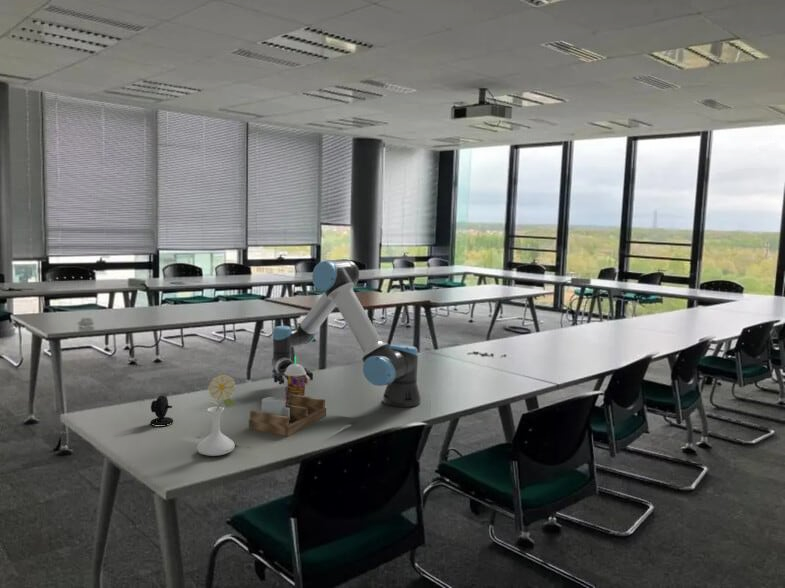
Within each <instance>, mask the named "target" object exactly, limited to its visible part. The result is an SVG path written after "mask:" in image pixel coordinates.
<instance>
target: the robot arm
mask: <svg viewBox="0 0 785 588" xmlns="http://www.w3.org/2000/svg"><path fill="white" fill-rule="evenodd" d="M311 276H312V277H311V279H312V283H313V286H314V287H315V288H316V289H317V291H321V292H323V293H322V294H321V295H320V297H319V299H318V300H317V301H316V302H315V303H314V305H313V307H311V309H310V311H309V312H308V313H307V314H306V315H305V316H304V318H303V319H302V321H301V322H300V323H299V324H298V325H297V326H296V327H295V328H292V327H291V326H288V325H277V326H275V327H273V333H272V334H273V335H272V338H273V339H272V342H273V343H272V345H273V347H272V348H273V349H272V351H273V352H272V357H271V365H272V367H273V369H272V371H271V372H272V373H271V374H272V377H273V382H274V383H278V384H279V385H283V386H284V388H285V387H288V380H287V379H286V377H285V374H284V372H285V371H286V369H287V367H288V366H289V365H291V364H294V361H293V360H292V348H294V347H297V346H301V345H306V344H307V345H308V344H309V343H312V342H313V341H314V340H315V338H316V332H317V330H318V329H319V328H320V327H321V326H322V325H323V323H324V322H325V320H326V319H327V318H328V316H330V315H331V314H332V312H333V311H334V309H335V308H336V307H337V309H338V310H339V313H340V314H341V316H342V318H343V320H344V322H345V323H346V325H347V326H348V329H349V330H350V332H351V334H352V335H353V337H354V339H355V341H356V343H357V344H358V347H359V348H360V351H361V352H362V355H361V360H362V362H363V364H362V367H363V369H362V373H363V376H364V378H365V379H366V380H367V381H368V382H369V383H370V384H372V385H373V386H377V387H383V386H386V387H385V390H384V393H383V395H382V401H383V403H384V404H385V405H388V406H392V407H398V408H411V407H416V406H419V405H420V404H421V402H422V401H421V398H422V397H421V393H420V389H419V387H418V364H419V363H418V362H419V361H418V360H419V352H418V348H417V347H416V346H413V345H406V344H389V343H387V342H384V341H383V340H382V338H381V336H380V335H379V334H378V331H377V330H376V327H375V326H374V325H373V322H372V321H371V319H370V318H369V315H368V314H367V312H366V310H365V309H364V307H363V306H362V304H361V302H360V300H359V297H358V296H357V294H356V293H355V290H354V288H355V287H356V285H357V283H358V282H359V279H360V269H359V267H358V266H357V264H356V263H355V262H354V261H352V260H350V259H347V258H342V259H327V260H323V261H319V262H318V263H317V264H316V265H315V266H314V268H313V271H312V275H311ZM303 368H304V369H305V372H306V382H305V385H306V386H308V387H309V386H311V381H313V380H314V373H313V372H311V371H310V370H308V369H307V368H306V367H303Z"/></svg>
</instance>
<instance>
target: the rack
mask: <svg viewBox="0 0 785 588" xmlns="http://www.w3.org/2000/svg"><path fill="white" fill-rule="evenodd" d="M285 407H287V408H290V421H289V417H286V416H280V415H275V414H269V413H264V412H262V411H258V410H252V409H251V410H250V412H249V413H250V415H249V419H248V429H249V430H253V431H254V430H255V431H261V432H265V433H270V434H274V435H275V434H276V435H280V436H286V437H290V436H292V435H294V434H295V433H297V432H299V431H301V430H303V429H304V428H307V427H309V426H310V425H312V424H314V423H316V422H317V421H320V420H321V419H324V418H325V417H326V416H327V407H326V399H324V398H317V397H311V396H307V395H306V396H300V395H294V394H289V402H287V403H286V402H285Z"/></svg>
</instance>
